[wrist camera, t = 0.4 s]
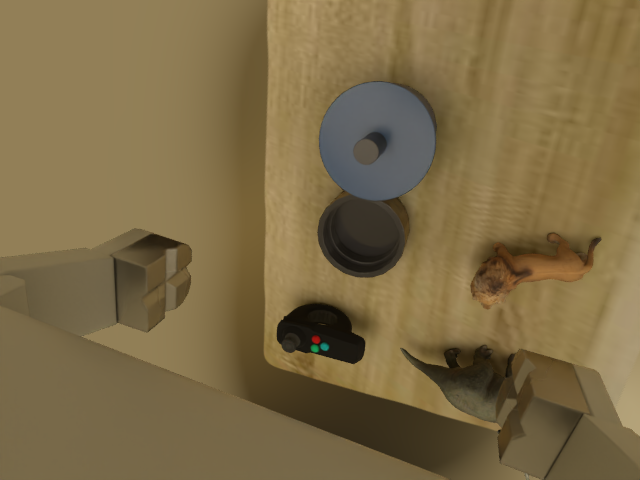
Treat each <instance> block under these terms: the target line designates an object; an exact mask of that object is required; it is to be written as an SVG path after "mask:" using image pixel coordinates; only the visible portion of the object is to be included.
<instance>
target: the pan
mask: <svg viewBox="0 0 640 480" xmlns="http://www.w3.org/2000/svg"><path fill="white" fill-rule="evenodd" d="M317 233H318V239H319V245H320V247H321V250H322V252H323V254H324V256H325V257H326V258H327V259H328V261H329V262H330V263H331V264H332V265H333V266H334V267H336V268H337V269H339V270H340V271H342V272H343V273H345V274H348V275H352V276H355V277H375V276H378V275H382V274H384V273H386V272H387V271H388V270H390V269H391V268H393V267H394V266H395V265H396V263H397V262H398V261H399V259H400V258H401V256H402V254H403V251H404V248H405V245H406V242H407V238H408V235H409V218H408V215H407V213H406V211H405V208H404V206H403V205H402V204H401V202H400V201H399V200H398V199H397V198H393V199H389V200H381V201H374V200H366V199H362V198H359V197H356V196H354V195H352V194H350V193H348V192H347V191H344V192H342V193H341V194H340V195H339V196H338V197H337V198H336V199H335V200H334V201H333V202H332V203H331V204H330V205H329V206H328V207H327V208H326V209H325V211H324V213H323V214H322V216H321V218H320V220H319V226H318V232H317Z"/></svg>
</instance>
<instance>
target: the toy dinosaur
mask: <svg viewBox="0 0 640 480" xmlns="http://www.w3.org/2000/svg"><path fill="white" fill-rule="evenodd" d="M486 348H487V346H486V345H485V346H481V347H480V348H479V349H478V350H476V351H475V355H474V361H473V365H471V366H468V367H465V368H460V366H459V365H458V363H457V361H456V358H457V357H458V356H457V354H458V353H460V352H461V351H460V350H459V349H453V350H450V351H447V352H445V353H444V356H445V359H446V363H447V364H448V366H449V368H446V367H443V366H438V365H431V364H426V363H424V362H422V361H420V360H418V359H416V358H414V357H413V356H411V355H410V354H409V353H408V352H407V351H406V350H404V349H402V348H400V349H401V351H402V352H403V354H404V355H405V357H406V358H407V359H408V360H409V361H410V362H411V363H412V364H413V365H414V366H415V367H416V368H418V369H419V370H421V371H422V372H423V373H425V374H426V375H427V376H428V377H429V378H430V379H432V380H433V381H434V382H435V383H436V384H437V385H438V386H439V387H440V389H441V391H442V392H443V393H444V395H445V397H446V399H447V400H448V401H449V402H450V403H451V404H452V405H453V406H454V407H455V408H457V409H459V410H460V411H462V412H465V413H467V414H469V415H472V416H475V417H477V418H479V419H482V420H484V421H489V422H493V423H497V422H496V402H497V397H498V393H499V390H500V387H501V385H502V383H503V380H504V379H505V378H504V377H502V376H501V375H499V374H497V373H493V372H494V370H493V368H492V366H491V364H490V363H489V362H488V361H487V360H486V359H490V358H491V356H490V355H491V354H492V352H493V350H487V349H486ZM514 356H515V355H514V354H511V356H510V358H509V359H508V366H507V368H506V378H507V377H509V376H511V375H513V373H512V366H511V363H512V360H513V358H514ZM500 431H501V430H498V431H497V432H498V434H499V433H500ZM525 477H526V480H529V474H526V473H525Z"/></svg>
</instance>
